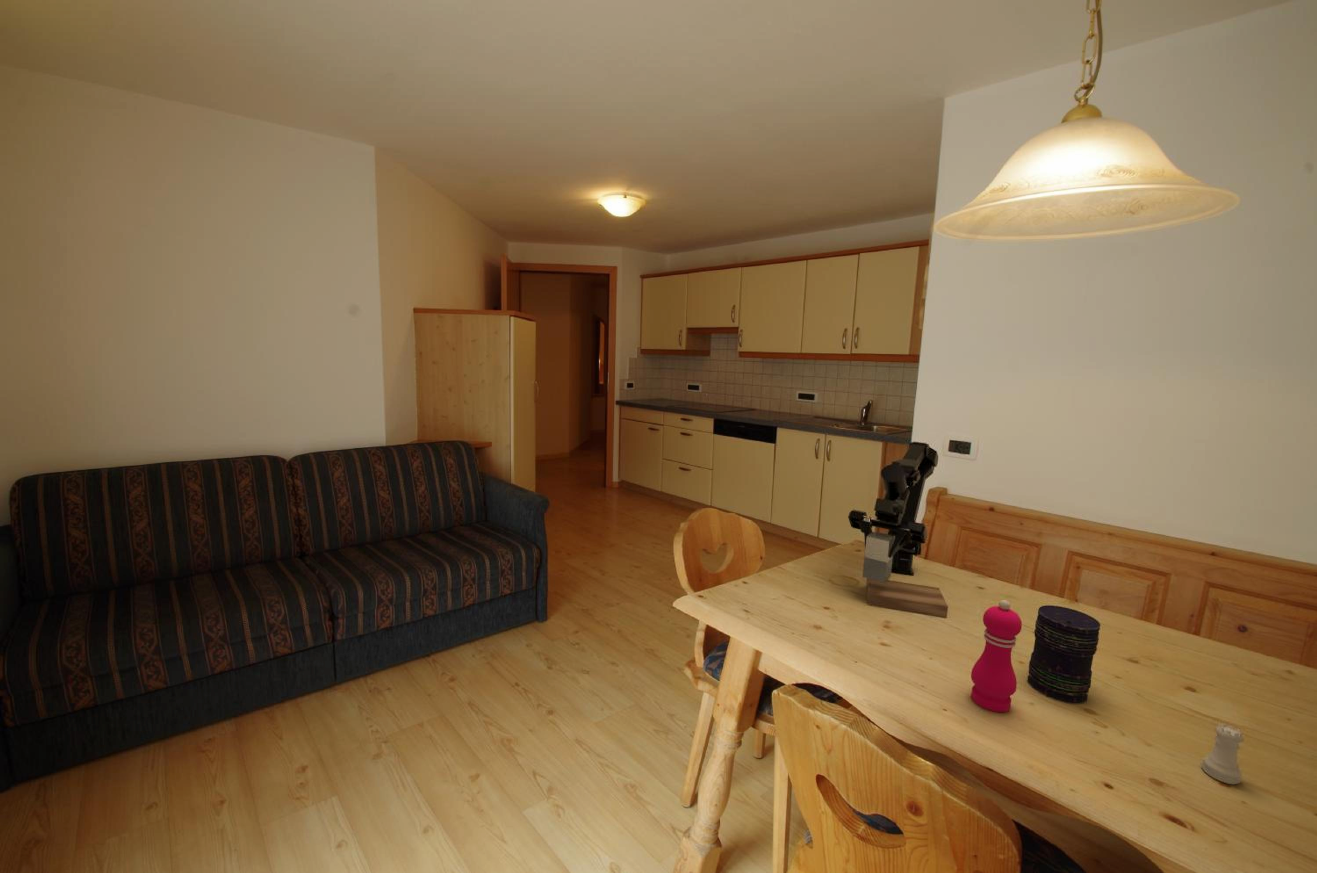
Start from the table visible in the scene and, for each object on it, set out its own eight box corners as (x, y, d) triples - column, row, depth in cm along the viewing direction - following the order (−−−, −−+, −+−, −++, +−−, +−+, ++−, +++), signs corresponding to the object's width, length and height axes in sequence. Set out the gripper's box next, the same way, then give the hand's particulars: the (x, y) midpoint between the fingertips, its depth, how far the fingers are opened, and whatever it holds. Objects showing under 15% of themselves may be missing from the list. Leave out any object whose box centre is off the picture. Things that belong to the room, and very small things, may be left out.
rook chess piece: (1209, 780, 85) (1220, 733, 84) (1194, 761, 89) (1203, 716, 88) (1247, 789, 83) (1258, 742, 82) (1229, 769, 88) (1240, 724, 86)
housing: (868, 570, 146) (873, 531, 144) (890, 576, 143) (895, 536, 141) (862, 577, 142) (866, 536, 140) (884, 583, 138) (889, 541, 137)
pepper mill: (960, 689, 106) (974, 590, 103) (998, 691, 106) (1013, 593, 103) (981, 713, 99) (996, 608, 96) (1022, 715, 99) (1038, 610, 96)
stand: (866, 587, 152) (867, 577, 152) (937, 598, 147) (938, 587, 147) (868, 605, 141) (870, 594, 140) (946, 618, 136) (948, 606, 135)
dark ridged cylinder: (1027, 668, 115) (1038, 600, 112) (1086, 686, 109) (1099, 615, 107) (1025, 690, 107) (1037, 618, 104) (1089, 711, 101) (1103, 635, 99)
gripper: (853, 480, 147) (835, 529, 140) (929, 493, 136) (914, 547, 129) (860, 502, 155) (843, 550, 148) (932, 517, 144) (918, 569, 137)
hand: (877, 554), depth 140 cm, fingers closed on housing, 5 cm apart
